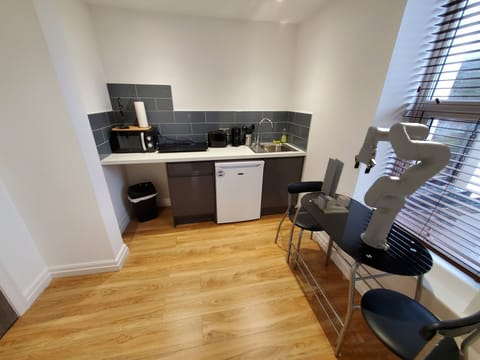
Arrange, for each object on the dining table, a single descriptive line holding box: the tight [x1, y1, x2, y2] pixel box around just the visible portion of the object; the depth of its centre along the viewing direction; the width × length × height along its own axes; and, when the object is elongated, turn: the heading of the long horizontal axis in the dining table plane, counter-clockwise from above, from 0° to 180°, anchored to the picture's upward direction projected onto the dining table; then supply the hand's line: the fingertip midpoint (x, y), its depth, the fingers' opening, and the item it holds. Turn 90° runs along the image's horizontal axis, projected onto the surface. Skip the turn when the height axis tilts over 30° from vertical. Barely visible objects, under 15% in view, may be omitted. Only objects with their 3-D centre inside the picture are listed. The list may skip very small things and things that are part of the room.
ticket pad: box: [317, 193, 335, 209], centre depth 139 cm, size 10×9×7 cm
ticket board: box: [311, 197, 350, 215], centre depth 141 cm, size 19×19×1 cm
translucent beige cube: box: [336, 194, 351, 207], centre depth 142 cm, size 6×6×6 cm
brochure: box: [321, 157, 345, 198], centre depth 156 cm, size 14×6×30 cm, turn 179°
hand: (361, 170), depth 128 cm, fingers open, 9 cm apart
